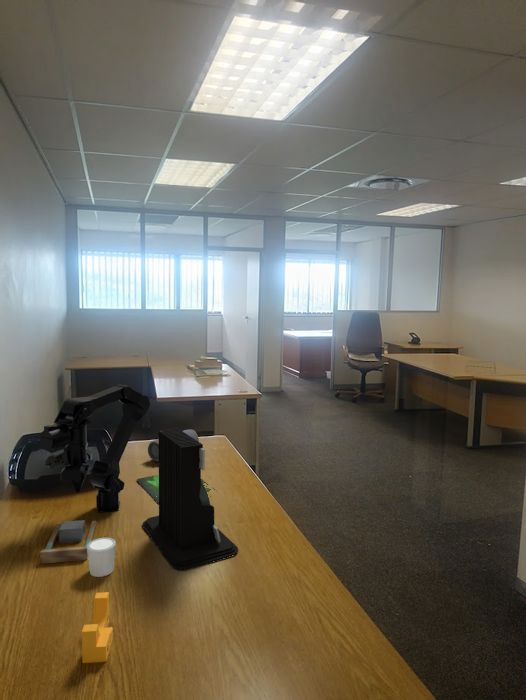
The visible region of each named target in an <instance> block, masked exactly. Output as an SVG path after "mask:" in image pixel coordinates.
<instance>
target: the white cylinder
mask: <svg viewBox="0 0 526 700" xmlns="http://www.w3.org/2000/svg"><path fill="white" fill-rule="evenodd" d="M87 552H88V557H87V560H88V568H89V573H90V576H92V577H94V578H95V577H98V578H101V577H102V578H103V577H105V576H108V575H110V574H112V573H113V571H114V567H115V555H116V540H115V539H113V538H112V537H100V538H94V539H93V540H92V541H91V542H89V543H88V544H87Z"/></svg>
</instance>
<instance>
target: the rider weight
mask: <svg viewBox="0 0 526 700" xmlns="http://www.w3.org/2000/svg"><path fill="white" fill-rule="evenodd" d="M86 532H87V531H86V520H85V519H83V520H67V521H66V520H63V521H62V523H61V527H60V529H59V534H58V536H59V540H58V543H60V544H64V543H65V544H66V543H80V542H81V541H82V540H84V539H85V536H86ZM84 535H85V536H84ZM82 542H83V541H82Z"/></svg>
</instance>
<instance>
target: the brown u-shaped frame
mask: <svg viewBox="0 0 526 700" xmlns="http://www.w3.org/2000/svg"><path fill="white" fill-rule="evenodd" d="M97 524H98V523H97V520H92V522H91V525H90V527H89V531H88V535H87V538H86V541H85V544H84V546H76V547H75V546H74V547H64V548H52V547H54V545H55V543H56V540H57V538H58V536H59V529H60V527H61V525H62V523H56V524H55V526H54V528H53V531H52V533H51V534H50V535H51V536H50V538H49V540H48V542H47V545H46V547H45V549H41V550H40V553H39V554H40V556H39V557H40V564H41V565H42V564H43V565H44V564H53V563H61V562H62V563H64V562H77V561H85V560H88V552H87V544H88V543H89V542H91V541H93V540H94V537H95V533H96V529H97Z"/></svg>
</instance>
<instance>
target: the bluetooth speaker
mask: <svg viewBox="0 0 526 700" xmlns="http://www.w3.org/2000/svg"><path fill="white" fill-rule="evenodd" d="M182 431H183V432H185V433H186V434H187V435H189V436H190V437H192V438H194V439H195V440H197V441H199V442H200V440H199V436H198V433H197V432H196V431H195V430H194V429H184V430H182ZM147 454H148V456H149V458H150V459H151V460H152V461H155V462H159V438H157V439H155V440H152V441H151V442H149V444H148V446H147Z"/></svg>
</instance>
